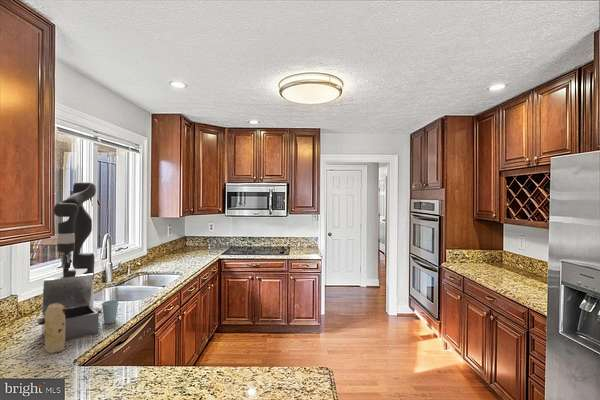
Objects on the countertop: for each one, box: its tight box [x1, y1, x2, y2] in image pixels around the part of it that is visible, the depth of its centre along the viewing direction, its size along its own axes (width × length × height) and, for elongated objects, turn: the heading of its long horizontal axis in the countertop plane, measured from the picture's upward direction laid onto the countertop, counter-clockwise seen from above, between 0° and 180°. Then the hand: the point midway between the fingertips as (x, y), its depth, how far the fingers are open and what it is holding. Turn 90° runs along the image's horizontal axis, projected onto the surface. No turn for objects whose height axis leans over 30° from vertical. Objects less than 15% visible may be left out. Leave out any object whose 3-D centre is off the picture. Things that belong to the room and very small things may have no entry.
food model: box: [44, 303, 66, 354], centre depth 152 cm, size 10×7×20 cm
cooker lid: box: [41, 269, 93, 314], centre depth 176 cm, size 21×20×2 cm
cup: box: [101, 299, 119, 324], centre depth 188 cm, size 8×8×10 cm
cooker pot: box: [36, 305, 103, 342], centre depth 171 cm, size 18×26×10 cm
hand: (65, 275), depth 180 cm, fingers closed
